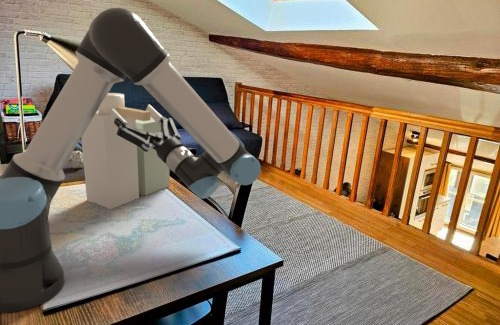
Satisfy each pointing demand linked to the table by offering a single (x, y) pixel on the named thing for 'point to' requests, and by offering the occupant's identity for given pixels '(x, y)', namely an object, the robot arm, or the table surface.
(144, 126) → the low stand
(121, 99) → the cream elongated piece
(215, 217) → the table surface
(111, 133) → the tall stand
